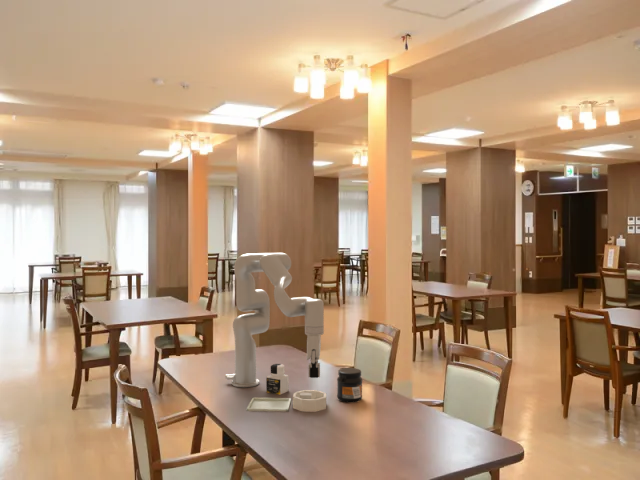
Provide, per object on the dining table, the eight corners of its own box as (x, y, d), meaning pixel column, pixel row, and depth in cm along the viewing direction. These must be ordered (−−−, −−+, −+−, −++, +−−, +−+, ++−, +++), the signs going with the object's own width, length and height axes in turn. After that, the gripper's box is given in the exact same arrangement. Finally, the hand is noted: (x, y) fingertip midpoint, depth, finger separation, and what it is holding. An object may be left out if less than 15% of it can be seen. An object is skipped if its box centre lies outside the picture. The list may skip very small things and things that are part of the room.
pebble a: (299, 407, 214) (299, 395, 213) (300, 404, 217) (300, 392, 217) (311, 407, 214) (311, 395, 213) (311, 404, 217) (311, 392, 217)
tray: (246, 411, 211) (246, 408, 211) (252, 400, 225) (252, 397, 225) (287, 412, 210) (287, 409, 210) (291, 401, 224) (291, 398, 224)
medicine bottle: (266, 393, 235) (266, 365, 235) (274, 389, 241) (275, 362, 241) (280, 395, 231) (280, 367, 231) (288, 391, 238) (289, 363, 238)
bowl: (291, 412, 210) (292, 399, 210) (294, 401, 223) (294, 389, 223) (325, 412, 210) (325, 400, 210) (326, 402, 223) (326, 390, 223)
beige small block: (308, 377, 216) (308, 365, 216) (309, 374, 220) (309, 362, 220) (319, 377, 216) (319, 365, 216) (320, 374, 220) (319, 363, 219)
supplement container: (360, 404, 221) (360, 374, 221) (334, 402, 223) (335, 373, 223) (363, 396, 231) (363, 368, 231) (339, 394, 233) (339, 366, 233)
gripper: (306, 326, 226) (306, 370, 226) (303, 333, 209) (303, 381, 210) (324, 326, 226) (324, 371, 226) (323, 334, 209) (323, 381, 209)
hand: (314, 375), depth 218 cm, fingers closed on beige small block, 3 cm apart
